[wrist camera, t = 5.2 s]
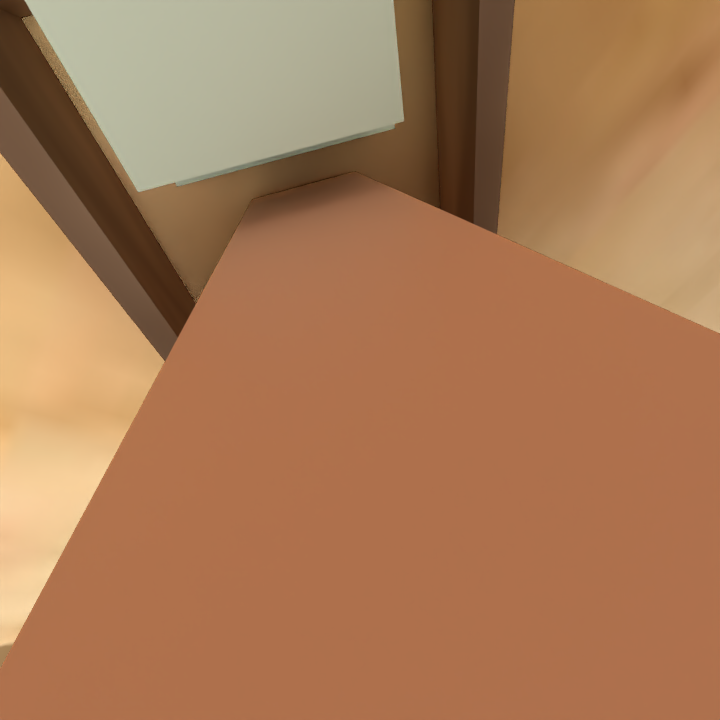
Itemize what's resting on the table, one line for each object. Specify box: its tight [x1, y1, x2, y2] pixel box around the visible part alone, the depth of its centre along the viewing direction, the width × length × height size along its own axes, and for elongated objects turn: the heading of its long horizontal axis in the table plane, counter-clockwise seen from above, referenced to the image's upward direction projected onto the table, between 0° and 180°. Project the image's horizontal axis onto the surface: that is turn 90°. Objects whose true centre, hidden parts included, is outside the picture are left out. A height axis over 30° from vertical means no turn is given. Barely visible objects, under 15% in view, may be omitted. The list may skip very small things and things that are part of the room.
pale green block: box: [25, 0, 404, 192], centre depth 8 cm, size 7×4×6 cm, turn 102°
